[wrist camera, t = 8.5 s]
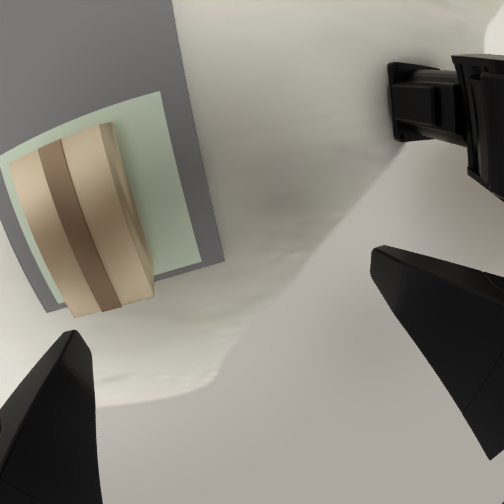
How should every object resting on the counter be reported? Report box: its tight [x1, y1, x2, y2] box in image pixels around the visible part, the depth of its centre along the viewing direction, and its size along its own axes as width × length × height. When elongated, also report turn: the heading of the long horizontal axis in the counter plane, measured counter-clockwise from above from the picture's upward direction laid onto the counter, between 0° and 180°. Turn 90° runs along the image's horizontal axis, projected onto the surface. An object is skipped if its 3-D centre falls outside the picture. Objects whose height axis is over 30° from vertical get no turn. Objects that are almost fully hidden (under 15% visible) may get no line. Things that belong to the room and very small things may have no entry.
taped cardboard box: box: [8, 122, 154, 318], centre depth 14 cm, size 9×5×4 cm, turn 9°
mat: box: [0, 0, 225, 313], centre depth 12 cm, size 14×28×1 cm, turn 9°
